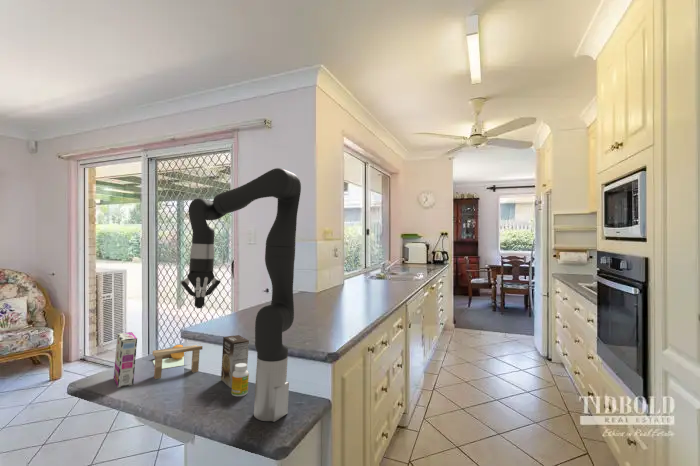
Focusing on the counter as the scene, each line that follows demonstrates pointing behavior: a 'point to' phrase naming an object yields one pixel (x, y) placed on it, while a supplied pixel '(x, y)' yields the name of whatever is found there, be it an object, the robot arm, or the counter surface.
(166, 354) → the stopper
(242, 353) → the coffee box
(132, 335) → the candy bar box
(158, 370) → the bridge
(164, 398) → the counter surface
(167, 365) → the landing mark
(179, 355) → the ball
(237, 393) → the supplement bottle
